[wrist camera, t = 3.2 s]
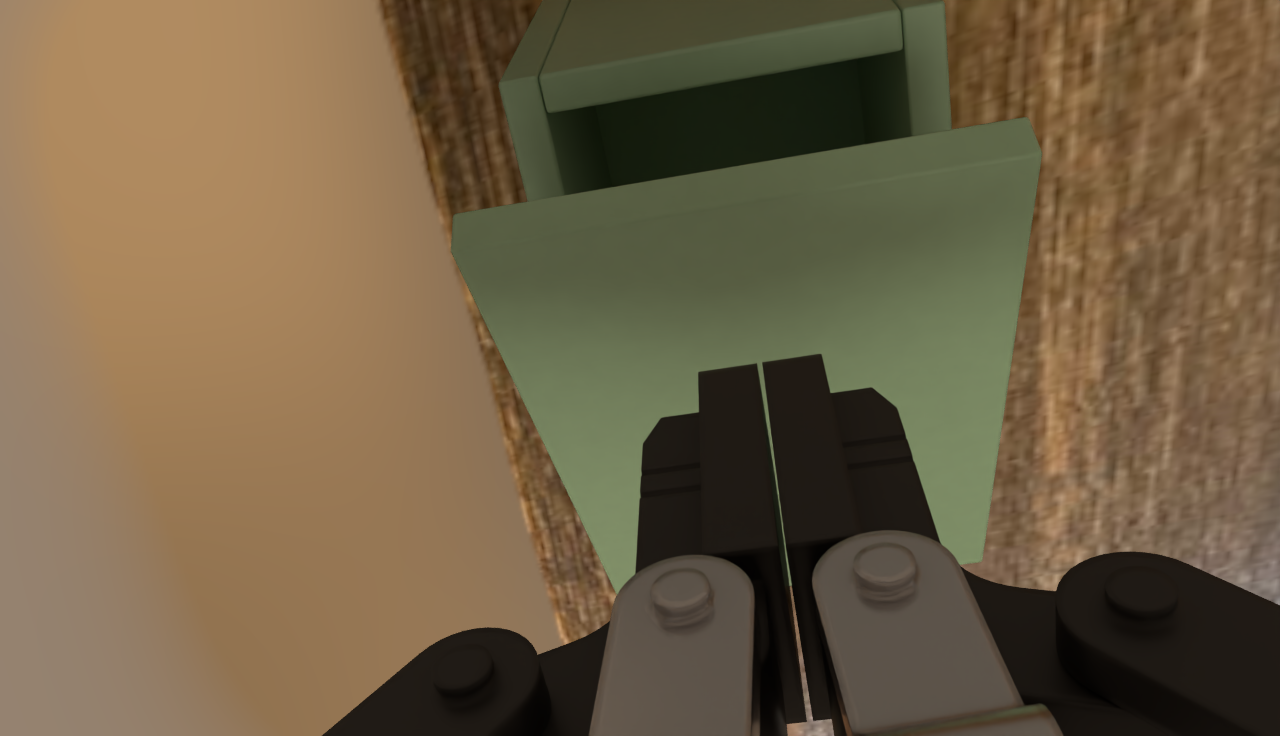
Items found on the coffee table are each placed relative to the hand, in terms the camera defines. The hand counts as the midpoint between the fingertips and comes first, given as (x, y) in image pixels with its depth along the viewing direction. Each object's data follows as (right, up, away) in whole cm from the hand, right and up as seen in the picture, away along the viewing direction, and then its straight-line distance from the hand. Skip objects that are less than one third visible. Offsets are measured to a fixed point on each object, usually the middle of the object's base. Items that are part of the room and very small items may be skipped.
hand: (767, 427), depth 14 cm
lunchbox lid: (+1, 0, +8) cm, 8 cm away
